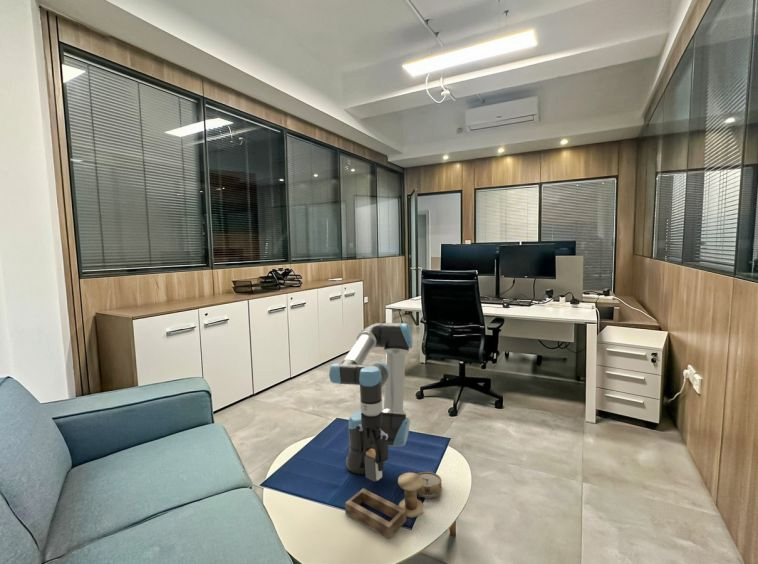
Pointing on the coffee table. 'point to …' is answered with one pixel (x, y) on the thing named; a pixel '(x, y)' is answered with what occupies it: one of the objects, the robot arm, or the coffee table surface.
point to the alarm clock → (429, 485)
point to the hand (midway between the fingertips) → (373, 475)
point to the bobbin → (411, 494)
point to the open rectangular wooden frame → (372, 519)
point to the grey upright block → (370, 464)
